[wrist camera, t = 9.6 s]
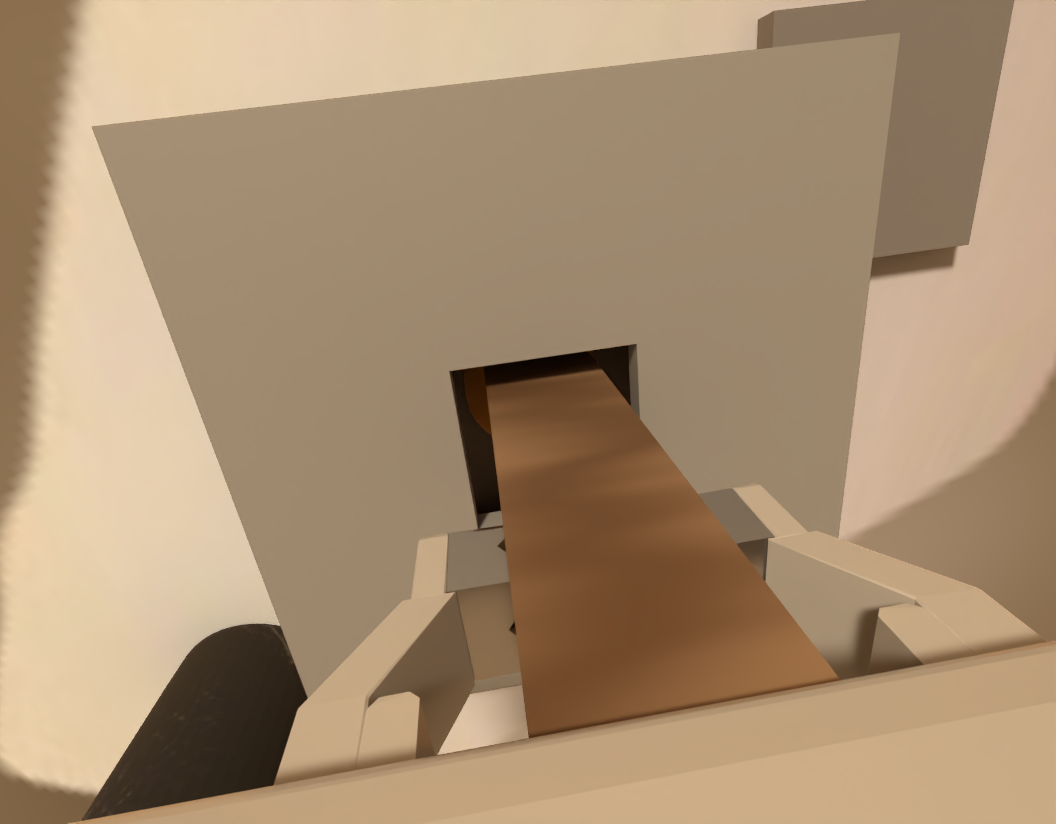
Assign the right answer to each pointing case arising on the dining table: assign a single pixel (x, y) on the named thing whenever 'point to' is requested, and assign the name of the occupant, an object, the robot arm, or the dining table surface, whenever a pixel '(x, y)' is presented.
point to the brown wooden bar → (622, 563)
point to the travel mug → (211, 725)
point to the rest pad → (921, 105)
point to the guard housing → (509, 290)
